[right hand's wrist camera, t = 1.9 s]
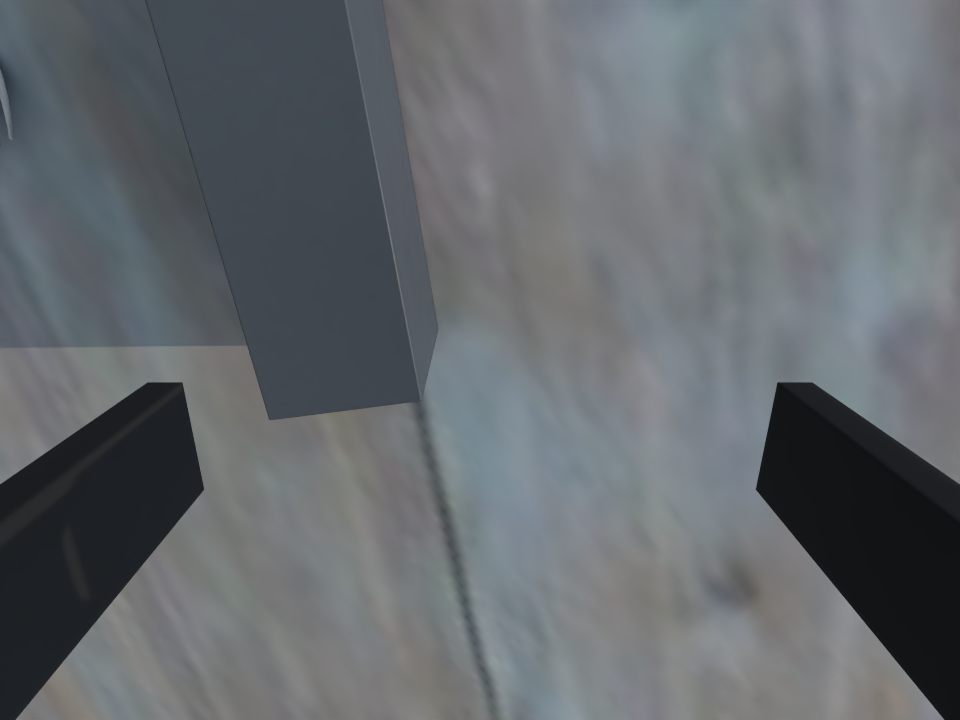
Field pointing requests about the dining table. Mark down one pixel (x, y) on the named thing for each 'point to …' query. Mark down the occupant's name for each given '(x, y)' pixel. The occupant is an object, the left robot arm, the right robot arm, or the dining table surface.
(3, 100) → the fork
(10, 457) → the dining table surface
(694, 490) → the dining table surface
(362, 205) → the bar
